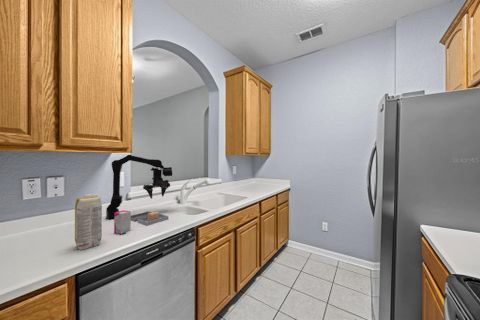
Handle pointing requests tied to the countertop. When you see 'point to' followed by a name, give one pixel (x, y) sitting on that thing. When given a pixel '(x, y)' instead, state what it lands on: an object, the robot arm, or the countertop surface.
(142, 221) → the tray
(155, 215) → the brown cube
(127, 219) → the supplement box
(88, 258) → the countertop surface
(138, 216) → the bin
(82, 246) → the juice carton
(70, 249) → the countertop surface
